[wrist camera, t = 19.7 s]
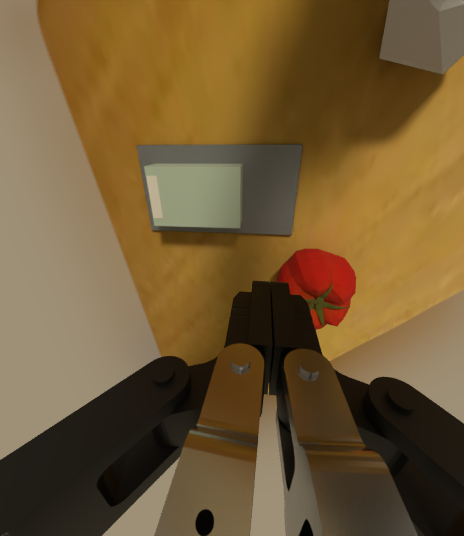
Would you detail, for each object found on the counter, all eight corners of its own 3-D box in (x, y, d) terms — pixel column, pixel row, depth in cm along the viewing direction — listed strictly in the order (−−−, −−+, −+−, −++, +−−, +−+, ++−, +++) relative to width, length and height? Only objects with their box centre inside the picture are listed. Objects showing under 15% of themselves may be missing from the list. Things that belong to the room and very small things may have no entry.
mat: (138, 145, 29) (136, 145, 29) (302, 144, 27) (302, 144, 27) (153, 229, 34) (152, 230, 34) (291, 234, 32) (291, 235, 32)
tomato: (292, 310, 39) (299, 352, 31) (259, 259, 35) (258, 292, 27) (357, 285, 35) (383, 325, 28) (328, 224, 31) (349, 252, 24)
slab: (242, 163, 28) (156, 163, 30) (240, 166, 25) (143, 166, 26) (242, 219, 32) (164, 217, 33) (240, 228, 29) (154, 225, 30)
